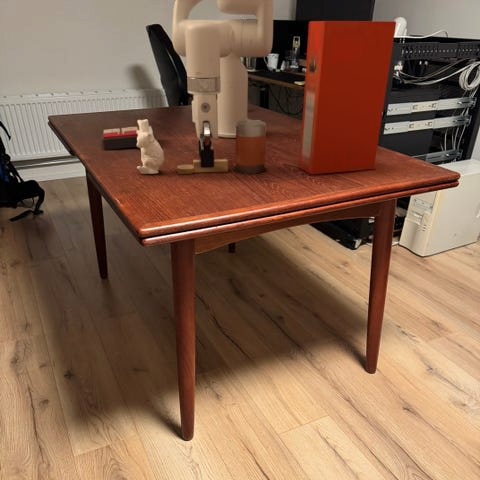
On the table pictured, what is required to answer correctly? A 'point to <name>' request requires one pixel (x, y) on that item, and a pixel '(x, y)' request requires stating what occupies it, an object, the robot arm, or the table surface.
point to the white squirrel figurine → (148, 149)
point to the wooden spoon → (219, 166)
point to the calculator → (121, 137)
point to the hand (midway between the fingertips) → (206, 161)
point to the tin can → (250, 146)
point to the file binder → (344, 94)
